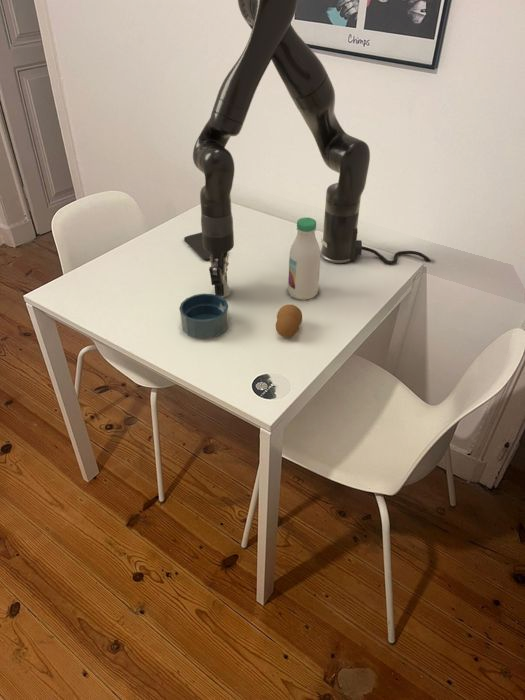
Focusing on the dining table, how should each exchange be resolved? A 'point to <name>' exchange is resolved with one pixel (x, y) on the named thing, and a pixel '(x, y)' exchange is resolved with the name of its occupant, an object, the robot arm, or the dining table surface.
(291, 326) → the potato
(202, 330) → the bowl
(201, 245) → the phone
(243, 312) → the dining table surface
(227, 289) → the rook chess piece
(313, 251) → the milk bottle
